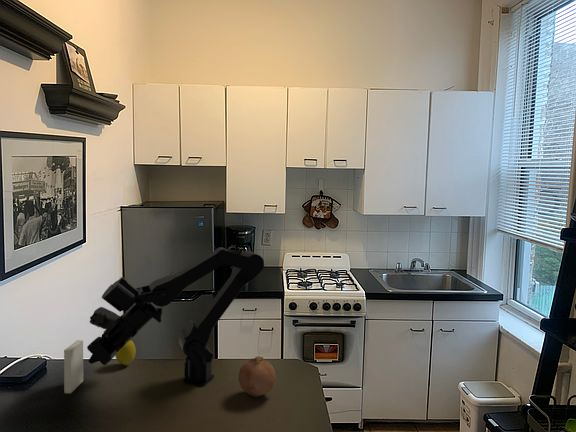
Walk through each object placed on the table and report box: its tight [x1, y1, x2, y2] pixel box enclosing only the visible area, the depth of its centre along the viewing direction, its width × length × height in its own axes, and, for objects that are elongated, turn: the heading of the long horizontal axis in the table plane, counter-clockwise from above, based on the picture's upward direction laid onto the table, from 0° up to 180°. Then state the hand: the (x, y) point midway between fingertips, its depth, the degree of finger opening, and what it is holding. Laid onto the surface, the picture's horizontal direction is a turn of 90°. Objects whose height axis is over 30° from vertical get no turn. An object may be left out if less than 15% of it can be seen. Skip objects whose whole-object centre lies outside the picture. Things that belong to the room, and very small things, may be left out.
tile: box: [63, 339, 84, 394], centre depth 116 cm, size 2×7×11 cm, turn 0°
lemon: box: [114, 339, 137, 366], centre depth 131 cm, size 6×6×8 cm
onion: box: [238, 355, 277, 398], centre depth 115 cm, size 10×9×10 cm
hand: (90, 361), depth 116 cm, fingers closed
